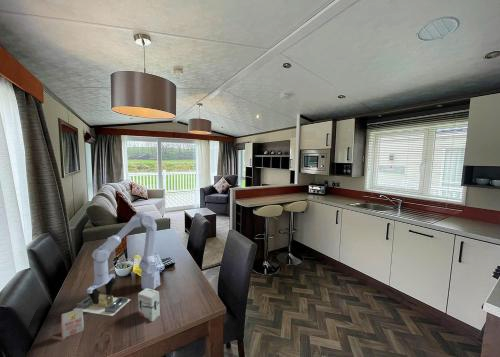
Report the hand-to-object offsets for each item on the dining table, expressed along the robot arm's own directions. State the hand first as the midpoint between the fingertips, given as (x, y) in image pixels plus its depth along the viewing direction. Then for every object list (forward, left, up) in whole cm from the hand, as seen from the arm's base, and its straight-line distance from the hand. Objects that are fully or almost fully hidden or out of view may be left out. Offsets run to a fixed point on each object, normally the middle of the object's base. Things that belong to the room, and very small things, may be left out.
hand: (102, 298), depth 107 cm
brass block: (0, 0, -3) cm, 3 cm away
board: (0, 0, -4) cm, 4 cm away
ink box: (-27, +2, -4) cm, 27 cm away
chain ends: (0, 0, -3) cm, 3 cm away
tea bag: (-2, +17, -4) cm, 18 cm away
